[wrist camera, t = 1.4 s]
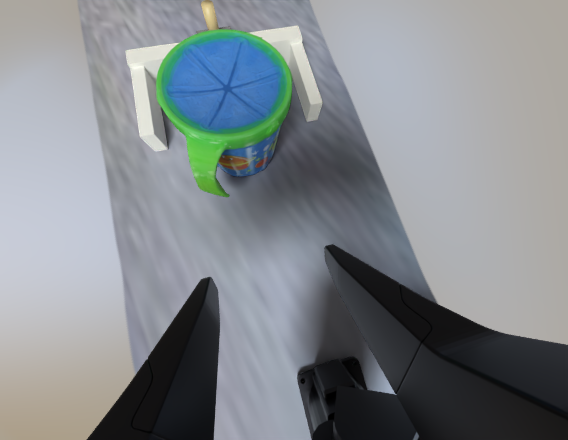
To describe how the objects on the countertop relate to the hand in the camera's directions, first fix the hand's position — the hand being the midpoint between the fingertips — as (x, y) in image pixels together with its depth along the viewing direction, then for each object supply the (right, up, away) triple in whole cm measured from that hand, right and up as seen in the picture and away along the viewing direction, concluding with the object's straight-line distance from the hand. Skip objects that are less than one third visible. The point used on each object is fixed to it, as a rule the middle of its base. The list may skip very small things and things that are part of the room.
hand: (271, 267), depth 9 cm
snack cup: (-4, +11, +16) cm, 20 cm away
